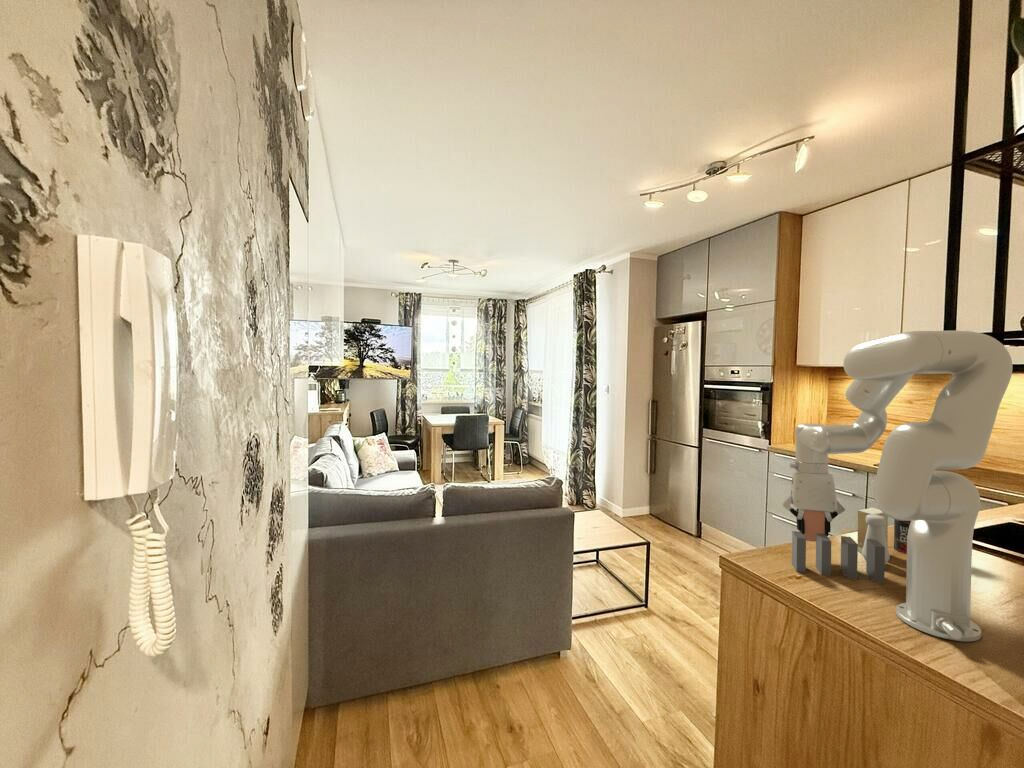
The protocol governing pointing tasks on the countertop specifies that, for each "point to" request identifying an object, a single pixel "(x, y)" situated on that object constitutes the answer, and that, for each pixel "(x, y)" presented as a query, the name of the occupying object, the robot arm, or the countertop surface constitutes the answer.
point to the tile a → (799, 551)
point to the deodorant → (901, 535)
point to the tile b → (823, 554)
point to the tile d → (875, 560)
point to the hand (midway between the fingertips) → (813, 533)
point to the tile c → (849, 557)
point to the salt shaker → (876, 533)
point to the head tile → (813, 524)
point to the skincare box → (863, 525)
